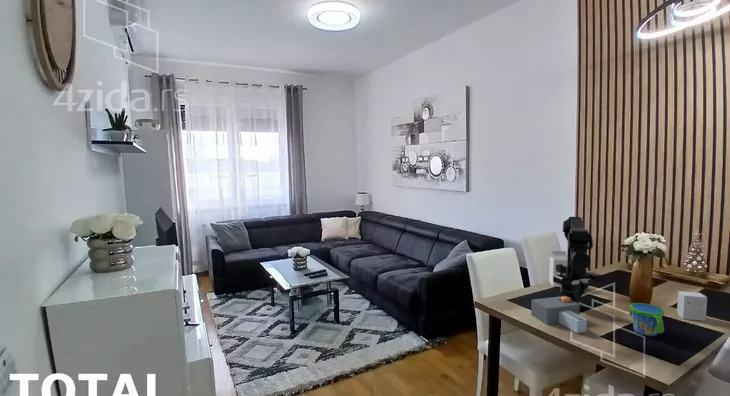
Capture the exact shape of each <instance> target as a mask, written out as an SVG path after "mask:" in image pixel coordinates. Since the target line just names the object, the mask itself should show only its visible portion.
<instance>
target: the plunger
mask: <svg viewBox="0 0 730 396" xmlns="http://www.w3.org/2000/svg"><path fill="white" fill-rule="evenodd" d="M561 296H562V297H561V301H562V302H564V303H570V301H571V298H570V297H566V296H563V295H561Z"/></svg>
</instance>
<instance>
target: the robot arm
mask: <svg viewBox="0 0 730 396" xmlns="http://www.w3.org/2000/svg"><path fill="white" fill-rule="evenodd" d="M562 233H563V236H564V237H565V239H566V241H567V249H566V250H567V251H566V255H567V266H563V265H562V264H559V265H556V272H560V275H555V276H553V282H555V283H558V284H560V285H561V287H560V293H561V294H562V296H566V297H570V298H571V301H573V302H576V303H578V304H580V299H581V297H582V296H583V295H584V293H585V292H586V290H587V289H588V288H589V286H591V285H592V284H591V283H589V281H592V280H593V281H594V282H595V283H598V284H600V283H603V282H604V278H603V275H602V274H600V273H598V272H597V273H596V272H593V271H589V272H587V269H588V268H589V269H590V263H591V258H590V255H589V254H588V250H590V251H591V250H592V249H593V247H594V243H593V242H594V241H593V236H592V234H591V233H590V231H589V230H588V229H586V228H585V222H584V220H583V218H582V217H581V216H569V217H567V219H566V220H564V221H563V222H562ZM562 274H565V275H562ZM580 308H581V309H582V306H581V305H580Z"/></svg>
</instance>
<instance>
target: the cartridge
mask: <svg viewBox="0 0 730 396" xmlns="http://www.w3.org/2000/svg"><path fill="white" fill-rule="evenodd" d="M558 323H559V324H561V325H562V326H564V327H566V328H568V329H569V330H571V331H573V332H575V333H576V334H578V333H586V332H587V329H588V328H587V327H588V320H587V319H586V317H583V316H581V315H580V314H579V315H577V314H575V313H573V312H571V311H569V310H567V309H565V310H558Z"/></svg>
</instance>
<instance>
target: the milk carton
mask: <svg viewBox="0 0 730 396" xmlns="http://www.w3.org/2000/svg"><path fill="white" fill-rule="evenodd" d="M559 264H562V265H563V266H567V251H566V250H565V251H564V250H563V251H562V250H561V251H560V250H552V251H551V254H550V256H549V273H548V274H549V276H548V277H549V281H548V282H549V284H550V285H551V286H552V287H553V288H556V287H557V288H561V285H560V284H558V283H555V282H553V276H555V275H560V272H556V265H559ZM562 275H565V274H562Z"/></svg>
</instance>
